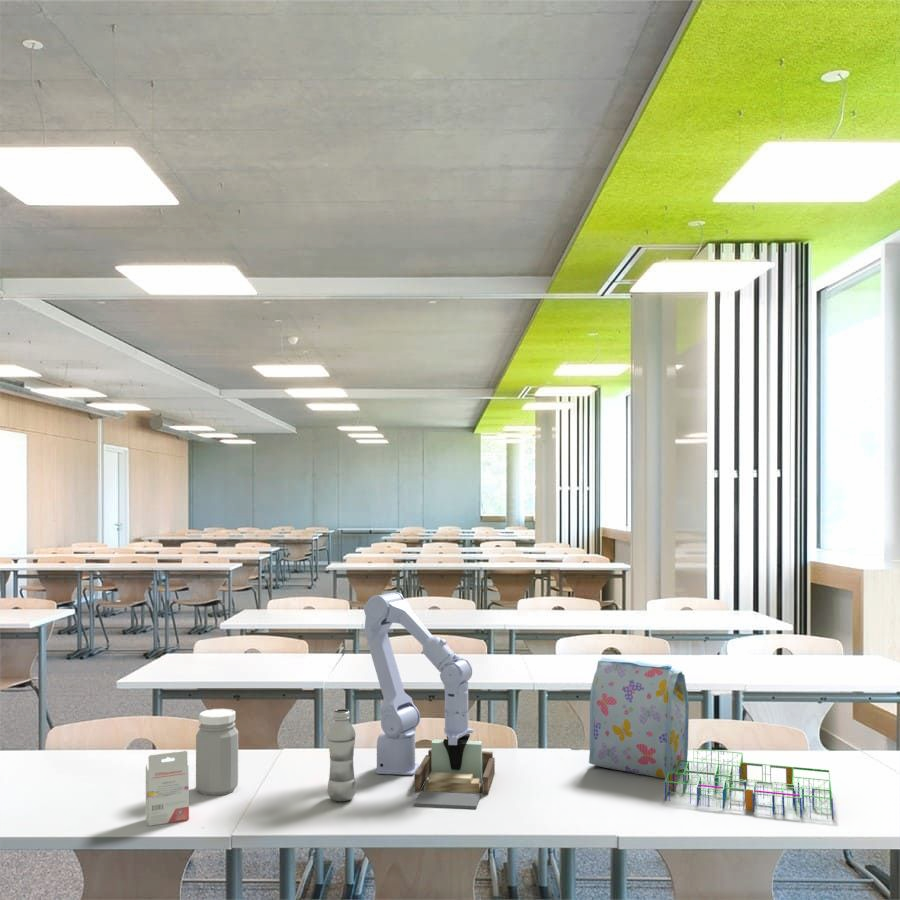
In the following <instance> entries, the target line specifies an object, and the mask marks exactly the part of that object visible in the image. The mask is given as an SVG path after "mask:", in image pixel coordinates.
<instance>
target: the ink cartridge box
mask: <svg viewBox="0 0 900 900" xmlns="http://www.w3.org/2000/svg"><path fill="white" fill-rule="evenodd" d="M167 758H169V759H174V760H170V761H162V760H165V759H167ZM188 763H189V762H188V751H186V750H183V751H182V750H181V751H174V752H172V751H171V752H165V753H157V754H150V755H149V756H148V764H147V763H146V764H145V821H146V823H147V826H157V825H164V824H165V825H166V824H170V823H177V822H182V821H188V820H190V814H189V813H190V801H189V800H190V799H189V798H190V793H189V792H190V790H189V789H190V788H189V787H190V784H189V782H190V780H189V779H190V778H189V775H190V774H189V771H190V769H189V765H188Z"/></svg>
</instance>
